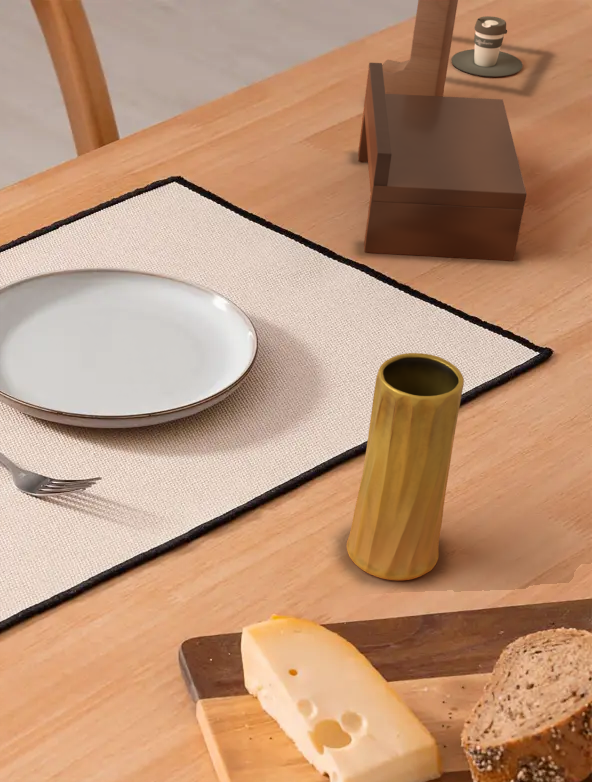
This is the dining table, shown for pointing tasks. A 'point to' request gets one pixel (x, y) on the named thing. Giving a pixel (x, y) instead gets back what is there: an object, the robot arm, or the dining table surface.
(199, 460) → the dining table surface
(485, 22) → the coffee cup
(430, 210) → the wooden box with backboard
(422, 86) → the wooden block
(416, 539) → the vase
